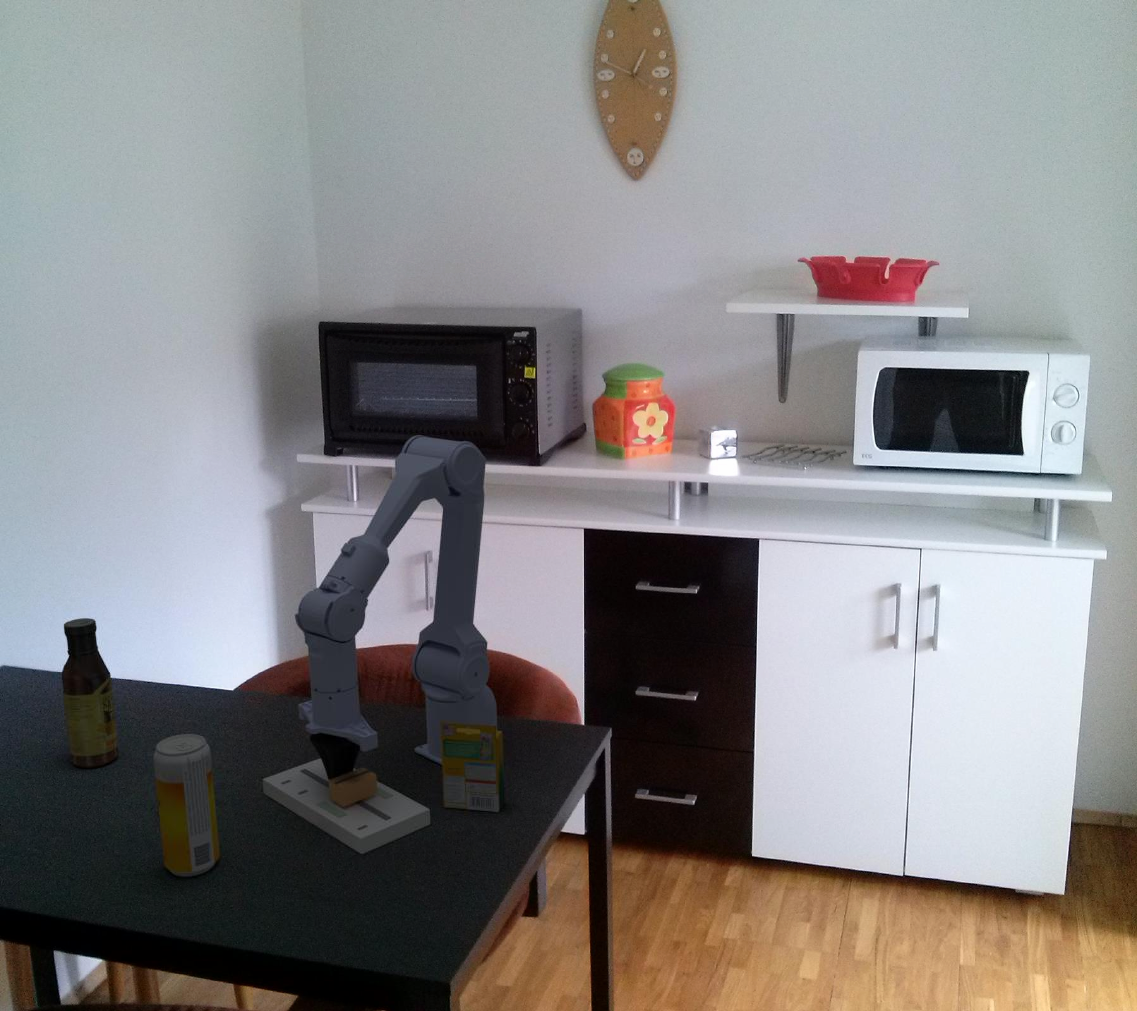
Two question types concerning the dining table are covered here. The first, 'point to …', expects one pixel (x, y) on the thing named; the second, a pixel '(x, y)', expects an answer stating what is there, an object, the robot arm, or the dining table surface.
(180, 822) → the beer can
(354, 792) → the fader knob
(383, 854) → the dining table surface
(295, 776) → the fader console
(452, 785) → the crayon box
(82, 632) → the sauce bottle
